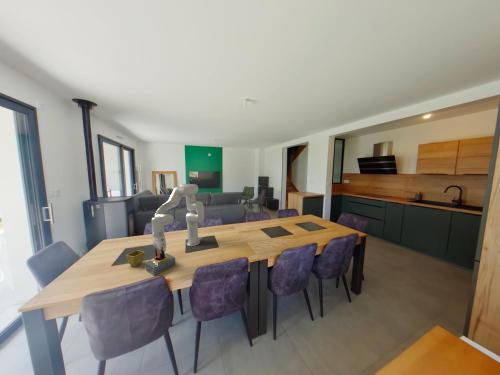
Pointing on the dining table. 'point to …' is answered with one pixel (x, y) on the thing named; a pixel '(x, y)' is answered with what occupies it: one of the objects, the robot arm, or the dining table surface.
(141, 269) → the dining table surface
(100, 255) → the dining table surface
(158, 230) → the robot arm
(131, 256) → the flower pot
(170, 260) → the grey box with hole
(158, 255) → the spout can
